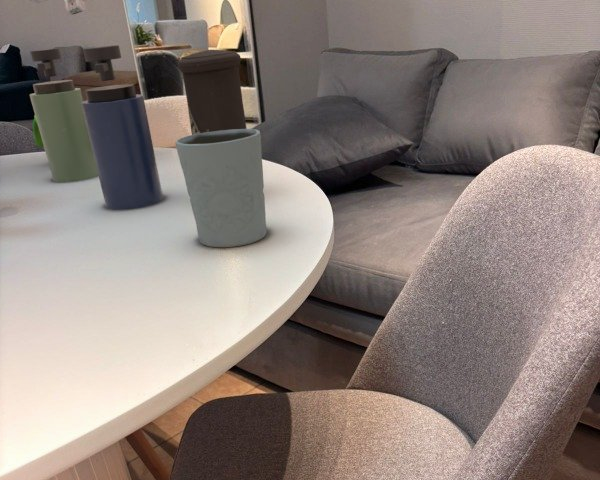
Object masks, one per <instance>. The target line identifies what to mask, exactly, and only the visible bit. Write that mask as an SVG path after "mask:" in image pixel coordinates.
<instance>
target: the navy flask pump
mask: <svg viewBox="0 0 600 480" xmlns="http://www.w3.org/2000/svg"><path fill="white" fill-rule="evenodd" d="M120 49H121V48H120V45H119V44H116V45H106V46H105V45H104V46H95V47H86V48H82V51H83V55H84V60H85V62H86V63H90V62H92V63H93V62H96V63H95V64H93V68H94V71H95V73H96V74H99V77H100V81H101V82H107V81H114V80H115V79H116V78H115V77H116V76H115V72H114V67H113V62H112V60H117V59H118V60H119V59H121V58H122V55H121V50H120Z"/></svg>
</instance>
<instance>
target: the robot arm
mask: <svg viewBox="0 0 600 480" xmlns="http://www.w3.org/2000/svg"><path fill="white" fill-rule="evenodd" d="M30 1H31V2H33V3H34V4H41V3H44V2H46V1H47V0H30ZM62 1H63V2H64V5H65V11H66V12H67V13H68V14H69V15H71V16H74V15H76V14H79V13H82V12H85V11H86V4H85V2H86V0H62Z"/></svg>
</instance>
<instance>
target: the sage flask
mask: <svg viewBox="0 0 600 480" xmlns="http://www.w3.org/2000/svg"><path fill="white" fill-rule="evenodd" d="M32 87H33V91H34V93H30V94H29V98H30V102H31V105H32V110H33V112H34V115H35V116H36V120H37V123H38V127H39V131H40V134H41V138H42V141H43V145H44V147H43V148H44V152H45V156H46V159H47V163H48V166H49V170H50V173H51V178H52V180H53V182H56V183H71V182H79V181H85V180H89V179H93V178H96V177H99V175H98V171H97V167H96V163H95V159H94V155H93V151H92V147H91V142H90V138H89V134H88V130H87V126H86V122H85V118H84V114H83V109H82V105H81V102H83V101H84V96H83V93H82V89H81V88H80V87H76V86H75V84H74V80H73V79H62V80H53V81H52V80H51V81H44V82H37V83H33V84H32Z"/></svg>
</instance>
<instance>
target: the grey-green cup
mask: <svg viewBox="0 0 600 480" xmlns="http://www.w3.org/2000/svg"><path fill="white" fill-rule="evenodd" d="M174 144H175V147H176V152H177V156H178V159H179V164H180V167H181V170H182V174H183V177H184V181H185V185H186V190H187V194H188V196H189V201H190V205H191V209H192V213H193V218H194V221H195V225H196V232H197V235H198V236H197V237H198V239H199V242H200V243H201V244H202V245H203V246H207V247H211V248H232V247H233V248H234V247H240V246H245V245H249V244H253V243H255V242H258V241H260V240H262V239H263V238H265V237H266V236H267V229H268V228H267V219H266V218H267V217H266V200H265V199H266V198H265V193H264V186H265V184H264V169H263V167H264V165H263V156H262V137H261V131H260V130H259V129H257V128H256V129H254V128H246V129H232V130H220V131H213V132H205V133H200V134H194V135H192V134H191V135H190V134H189V135H186V136H184V137H180V138H178V139H176V141H175V142H174Z"/></svg>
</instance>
